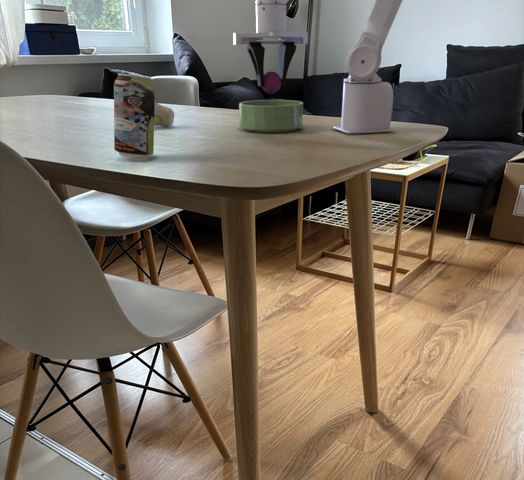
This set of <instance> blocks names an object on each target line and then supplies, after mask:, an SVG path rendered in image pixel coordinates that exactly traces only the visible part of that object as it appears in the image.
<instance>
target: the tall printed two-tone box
mask: <svg viewBox="0 0 524 480" xmlns="http://www.w3.org/2000/svg"><path fill="white" fill-rule="evenodd" d="M155 87H156V86H155V85H154V84H153V81H152V77H148V76H142V75H134V74H128V73H127V74H126V73H120V72H119V73H117V77H116V78H115V80H114V82H113V119H114V120H113V130H114V131H113V134H114V135H113V136H114V137H113V139H114V142H113V143H114V145H113V146H114V148H113V149H114V151H116V152H117V153H118V155H119V156H121V157H125V158H131V159H149V157H150V156H152V155H153V154H154V151H155V149H154V147H155V146H154V145H155V126H154V111H155V102H156V88H155Z"/></svg>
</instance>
